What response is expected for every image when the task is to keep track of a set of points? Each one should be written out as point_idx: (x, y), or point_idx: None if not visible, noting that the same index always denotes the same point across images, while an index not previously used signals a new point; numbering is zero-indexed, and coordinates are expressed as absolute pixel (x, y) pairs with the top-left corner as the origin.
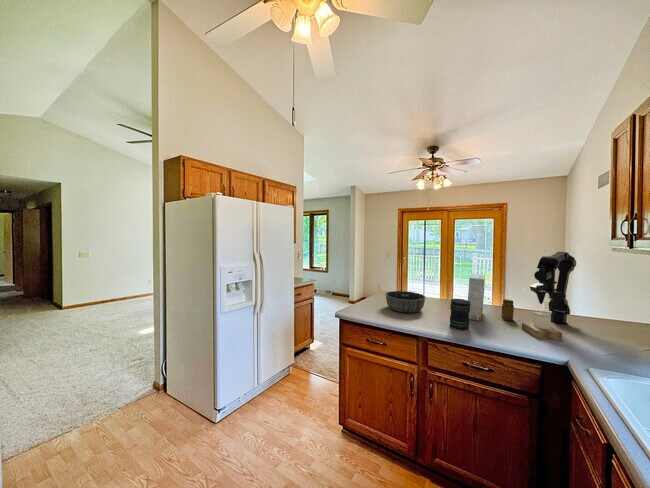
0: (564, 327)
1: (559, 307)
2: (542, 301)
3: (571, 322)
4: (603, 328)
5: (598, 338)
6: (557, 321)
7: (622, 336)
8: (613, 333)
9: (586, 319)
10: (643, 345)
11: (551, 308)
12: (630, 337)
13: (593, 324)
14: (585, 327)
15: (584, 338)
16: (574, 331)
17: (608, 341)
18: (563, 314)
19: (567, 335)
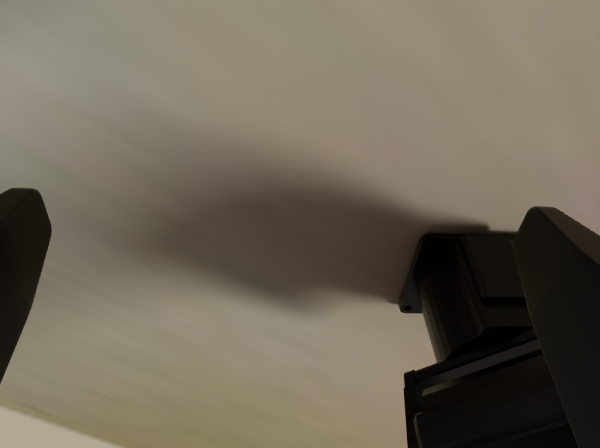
0: (321, 232)
1: (460, 411)
2: (537, 305)
3: None
4: (320, 421)
5: (71, 296)
6: (442, 261)
7: (182, 420)
8: (230, 414)
9: None
10: (39, 417)
11: (25, 188)
12: (176, 437)
13: (394, 420)
14: (333, 360)
15: None
16: (214, 241)
17: None
18: (438, 360)
19: (36, 90)
